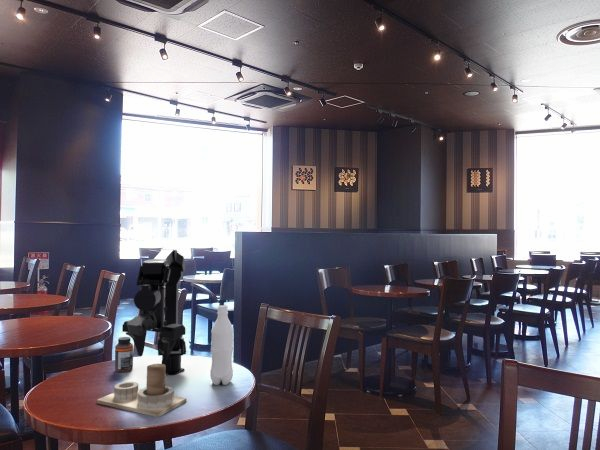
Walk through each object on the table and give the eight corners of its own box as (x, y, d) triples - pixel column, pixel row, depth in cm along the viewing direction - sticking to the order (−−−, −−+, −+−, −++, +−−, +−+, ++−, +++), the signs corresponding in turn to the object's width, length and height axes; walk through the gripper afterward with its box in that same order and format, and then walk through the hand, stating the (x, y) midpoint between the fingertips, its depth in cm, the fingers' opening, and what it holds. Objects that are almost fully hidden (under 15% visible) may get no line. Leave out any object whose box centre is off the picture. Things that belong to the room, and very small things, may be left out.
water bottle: (227, 387, 142) (229, 308, 142) (206, 385, 143) (208, 307, 144) (235, 380, 149) (237, 304, 149) (215, 378, 150) (216, 303, 151)
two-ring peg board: (128, 389, 138) (128, 376, 139) (186, 401, 130) (186, 387, 130) (96, 403, 128) (97, 389, 128) (157, 417, 119) (158, 402, 119)
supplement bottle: (115, 368, 160) (116, 336, 160) (133, 367, 161) (133, 335, 162) (113, 373, 154) (114, 340, 154) (132, 372, 156) (133, 339, 156)
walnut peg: (154, 397, 130) (155, 362, 130) (168, 400, 128) (169, 365, 128) (142, 403, 125) (143, 367, 125) (156, 406, 123) (157, 369, 123)
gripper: (107, 305, 126) (107, 361, 126) (160, 311, 119) (159, 370, 119) (136, 299, 136) (135, 351, 136) (187, 305, 129) (186, 359, 129)
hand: (153, 357), depth 130 cm, fingers open, 9 cm apart
